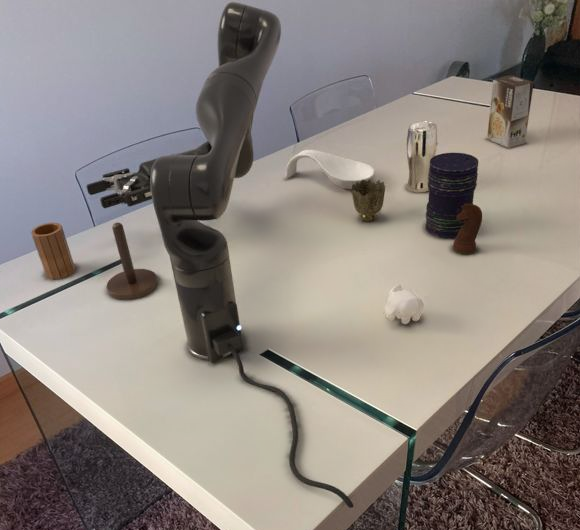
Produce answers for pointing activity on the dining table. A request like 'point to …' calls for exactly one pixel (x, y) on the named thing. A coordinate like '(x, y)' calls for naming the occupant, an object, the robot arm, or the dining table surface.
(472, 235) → the chess piece
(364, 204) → the cup
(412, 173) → the beer glass
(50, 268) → the wooden stave pot
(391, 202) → the dining table surface
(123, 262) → the peg stand
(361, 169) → the spoon rest
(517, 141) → the coffee box
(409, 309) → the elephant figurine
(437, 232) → the storage jar
